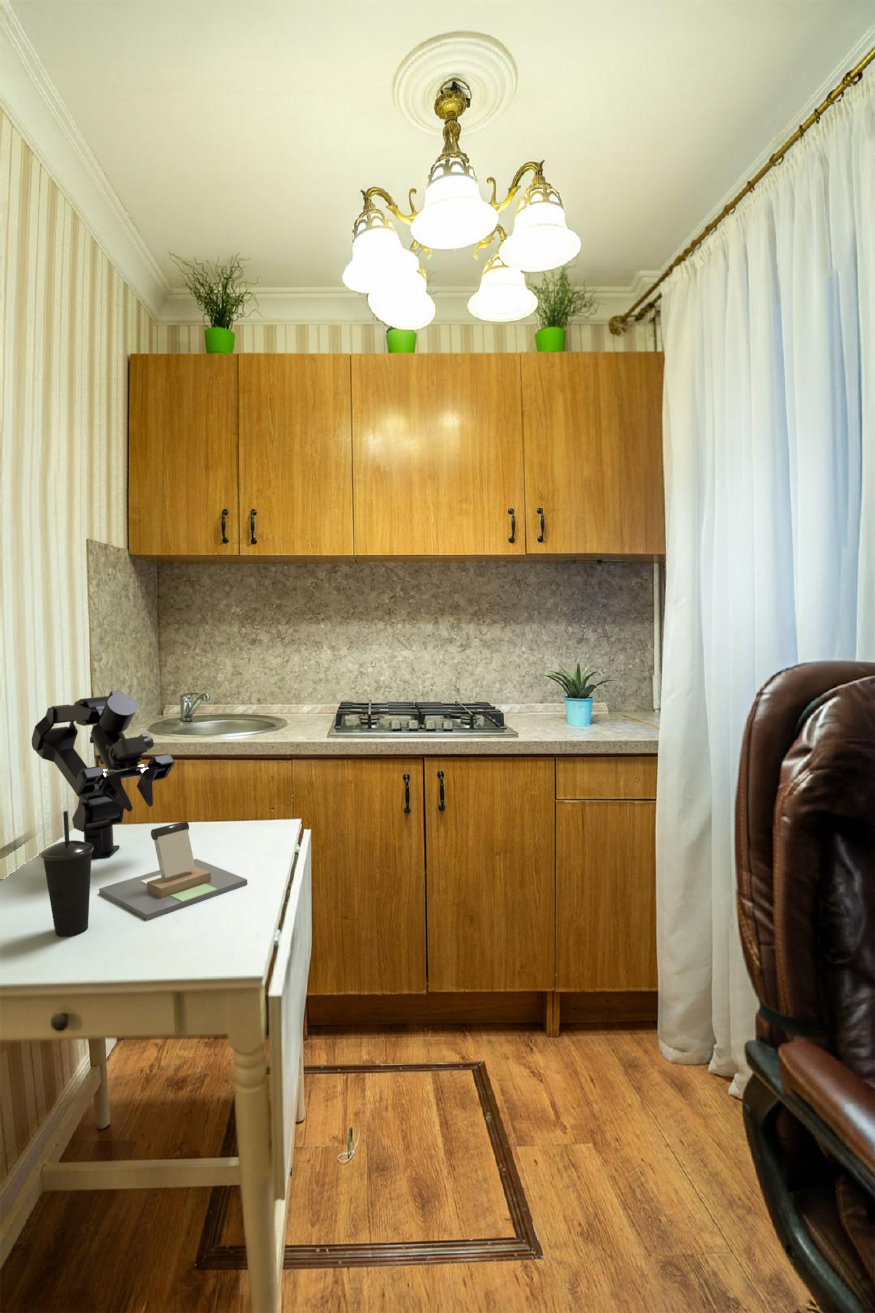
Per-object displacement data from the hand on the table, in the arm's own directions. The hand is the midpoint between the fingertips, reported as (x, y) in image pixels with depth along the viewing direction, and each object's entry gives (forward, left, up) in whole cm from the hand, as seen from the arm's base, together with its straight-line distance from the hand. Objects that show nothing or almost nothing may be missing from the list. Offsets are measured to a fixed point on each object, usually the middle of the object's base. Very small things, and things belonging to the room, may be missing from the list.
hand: (141, 808), depth 141 cm
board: (+8, +8, -14) cm, 18 cm away
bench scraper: (+10, +10, -11) cm, 17 cm away
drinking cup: (+24, -4, -14) cm, 28 cm away
